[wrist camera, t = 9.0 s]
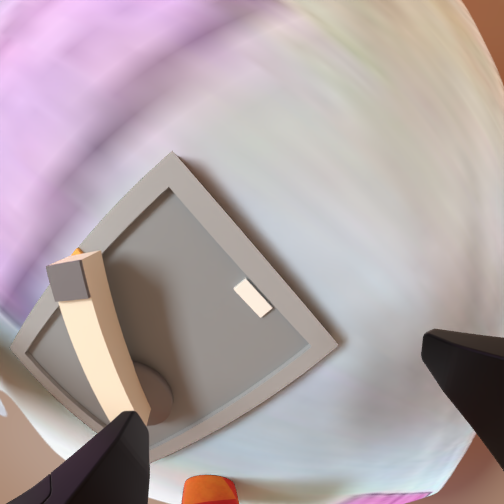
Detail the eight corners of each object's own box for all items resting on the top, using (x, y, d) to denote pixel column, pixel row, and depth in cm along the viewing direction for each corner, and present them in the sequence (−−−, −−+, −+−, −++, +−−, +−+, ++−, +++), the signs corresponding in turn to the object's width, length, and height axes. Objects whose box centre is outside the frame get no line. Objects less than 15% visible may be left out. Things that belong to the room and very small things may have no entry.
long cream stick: (181, 417, 18) (178, 451, 15) (116, 417, 18) (104, 447, 14) (131, 243, 16) (108, 255, 12) (56, 256, 15) (25, 270, 11)
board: (147, 453, 21) (145, 467, 19) (18, 340, 17) (7, 349, 15) (330, 334, 20) (340, 347, 18) (176, 155, 16) (171, 149, 14)
